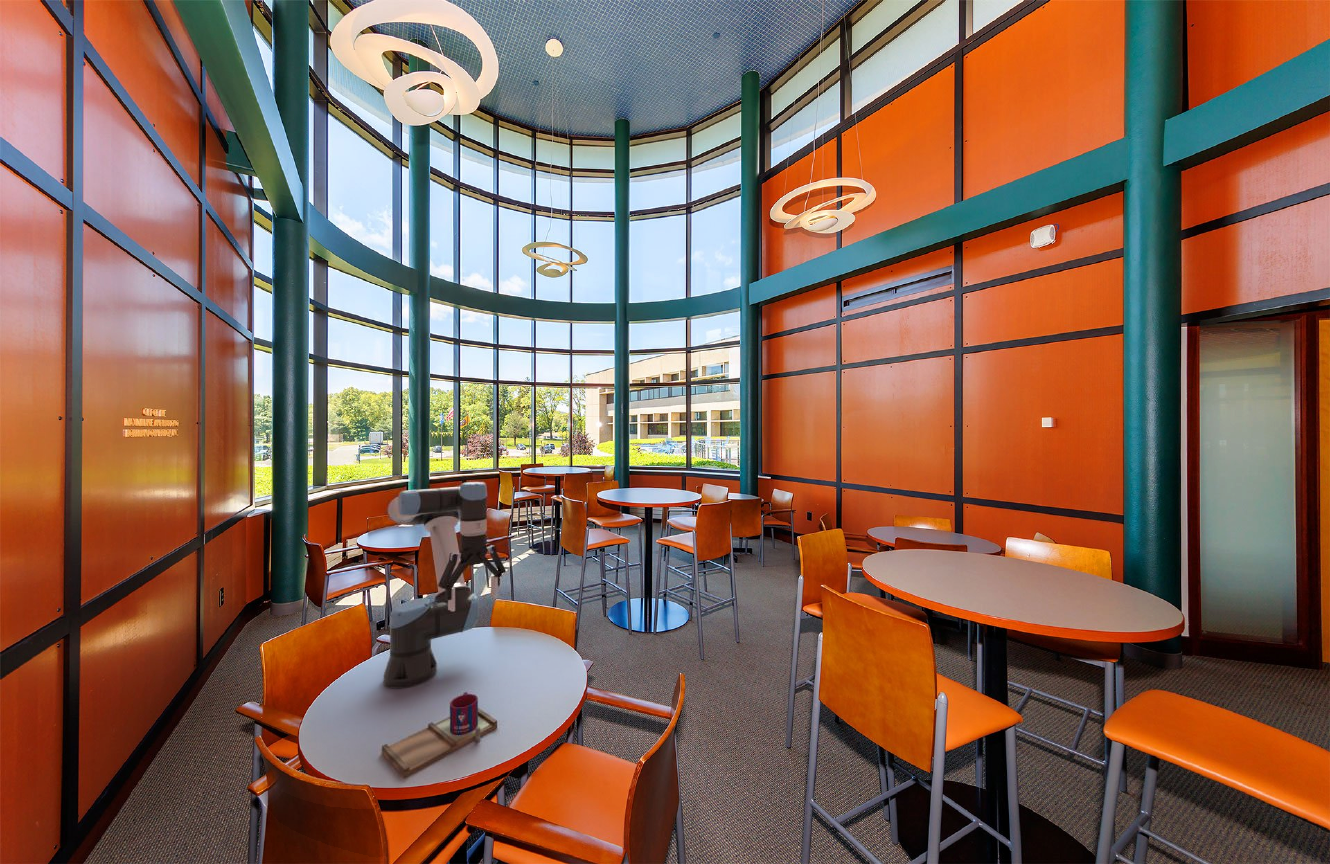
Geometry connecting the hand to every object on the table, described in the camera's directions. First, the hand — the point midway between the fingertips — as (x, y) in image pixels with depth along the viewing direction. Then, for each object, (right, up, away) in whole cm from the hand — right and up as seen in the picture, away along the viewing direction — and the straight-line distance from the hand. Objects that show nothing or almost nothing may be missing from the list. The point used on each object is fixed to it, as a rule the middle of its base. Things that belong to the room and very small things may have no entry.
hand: (473, 603), depth 140 cm
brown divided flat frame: (+1, -26, -23) cm, 35 cm away
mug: (+5, -25, -18) cm, 31 cm away
